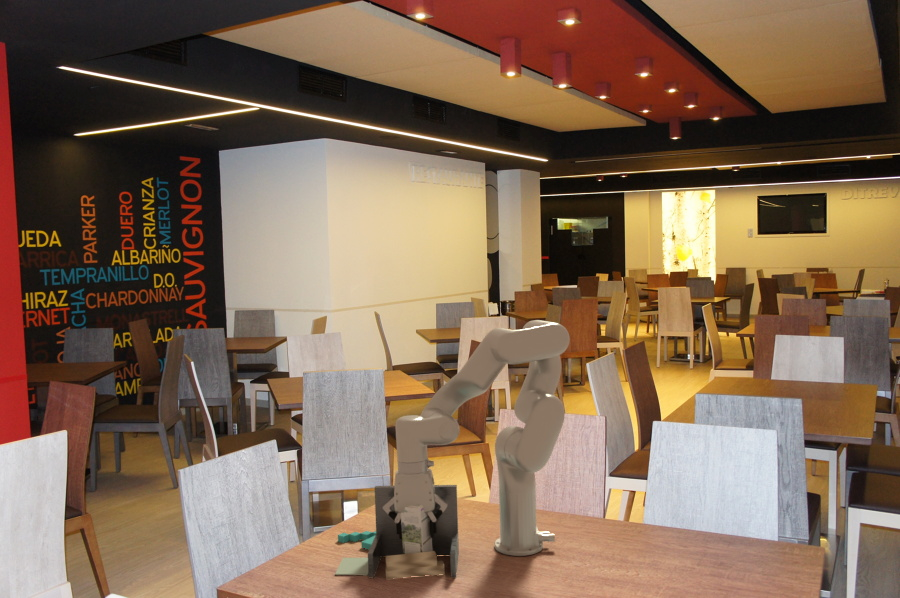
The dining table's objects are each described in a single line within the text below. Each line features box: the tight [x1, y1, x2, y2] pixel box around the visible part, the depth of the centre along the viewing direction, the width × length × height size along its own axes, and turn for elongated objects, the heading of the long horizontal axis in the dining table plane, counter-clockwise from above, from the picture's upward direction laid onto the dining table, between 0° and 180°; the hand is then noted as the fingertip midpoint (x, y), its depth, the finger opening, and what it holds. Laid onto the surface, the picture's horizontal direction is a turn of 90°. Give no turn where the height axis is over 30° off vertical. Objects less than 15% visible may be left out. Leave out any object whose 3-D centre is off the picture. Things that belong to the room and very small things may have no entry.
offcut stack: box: [385, 551, 446, 580], centre depth 181 cm, size 14×3×5 cm, turn 98°
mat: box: [334, 556, 369, 576], centre depth 186 cm, size 8×10×1 cm
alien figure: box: [337, 530, 376, 550], centre depth 206 cm, size 20×2×20 cm
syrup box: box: [401, 505, 433, 554], centre depth 186 cm, size 6×6×14 cm
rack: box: [367, 484, 460, 579], centre depth 186 cm, size 21×14×18 cm
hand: (416, 535), depth 186 cm, fingers closed on syrup box, 7 cm apart
